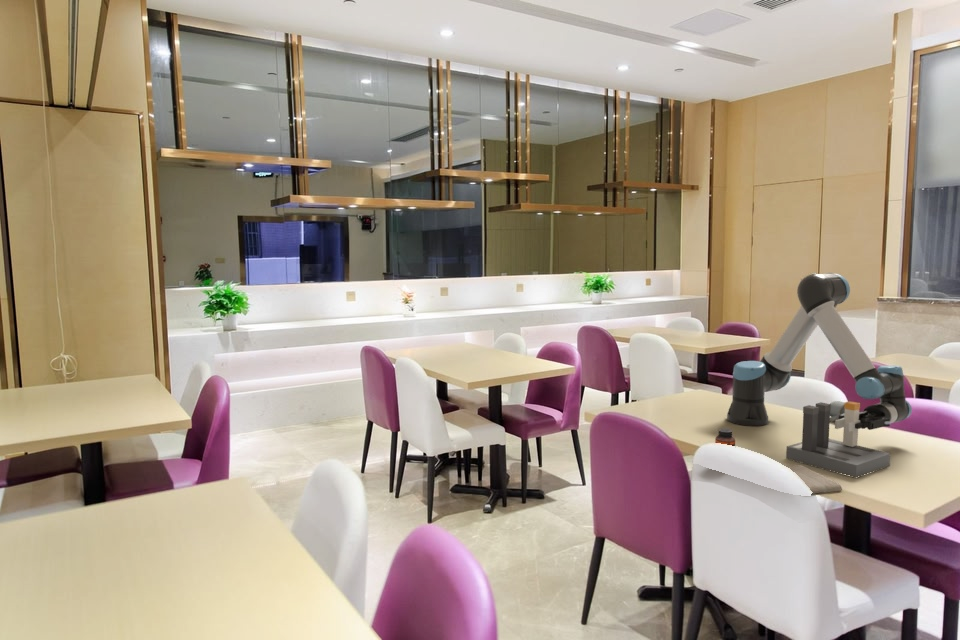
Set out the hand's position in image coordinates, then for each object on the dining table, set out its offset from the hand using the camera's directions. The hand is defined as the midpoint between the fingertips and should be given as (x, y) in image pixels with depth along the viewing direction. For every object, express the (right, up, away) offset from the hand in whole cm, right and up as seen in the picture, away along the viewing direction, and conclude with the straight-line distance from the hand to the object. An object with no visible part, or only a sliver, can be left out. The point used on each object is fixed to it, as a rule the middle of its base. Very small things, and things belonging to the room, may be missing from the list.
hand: (842, 426), depth 202 cm
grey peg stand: (-2, -12, 0) cm, 12 cm away
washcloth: (-21, -14, -17) cm, 31 cm away
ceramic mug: (+27, -6, +49) cm, 57 cm away
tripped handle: (+5, -7, +4) cm, 9 cm away
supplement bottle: (-38, -12, -2) cm, 40 cm away
